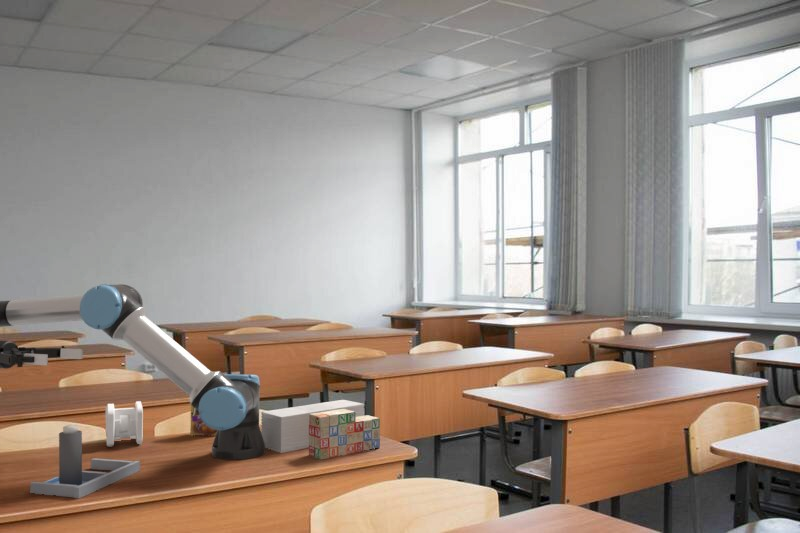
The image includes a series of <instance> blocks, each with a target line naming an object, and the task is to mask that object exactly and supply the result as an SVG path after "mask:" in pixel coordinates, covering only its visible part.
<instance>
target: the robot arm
mask: <svg viewBox="0 0 800 533" xmlns="http://www.w3.org/2000/svg"><path fill="white" fill-rule="evenodd" d="M79 321H83V322H84V323H85V325H87V326H88V327H90V328H92V329H95V330H98V331H99V330H101V331H102V332H104V333H105V334H106V335H107V336H109V337H110V339H112V340H114V341H124V342H125V343H126V344H127V345H128V346H130V347H131V348H132V349H133V350H134V351H136V352H137V353H138V354H139V355H140V356H141V357H143V358H144V359H145V360H146V361H147V362H149V364H151V365H152V366H153V367H154V368H155V369H157V370H158V371H159V372H161V373H162V374H163V375H164V376H165V377H166V378H168V379H169V380H170V381H171V382H172V383H174V384H175V385H176V386H177V387H178V388H180V390H182V391H183V392H185V393H186V394H187V395H188V396H189V404H190V406H191V405H192V406H193V407H194V408H195V409H197V410H198V411H199V415H200V418H201V419H202V421H203V422H204V423H205V424H206V425H207V426H208V427H210V428H212V429H215V430H217V433H216V436H214V440H213V442H212V445H211V455H212V457H214V458H217V459H220V460H221V459H222V460H246V459H253V458H258V457H259V456H263V455H264V454H265V453H266V448H265V443H264V440H263V437H262V434H261V428H260V427H261V426H260V388H261V383H260V377H259V376H258V375H257V374H233V373H232V374H231V373H230V374H224V373H223V372H222V371H220V370H217V371H216V370H215V371H212V370H211V369H209V368H208V367H207V366H206V365H205V364H203V363H202V362H201V361H200V360H198V358H196V357H195V356H194V355H192V354H191V352H189V351H188V350H187V349H185V348H184V347H183V346H182V345H180V344H179V343H178V342H177V341H175V339H174V338H172V336H170V335H168V334H167V333H166V332H165V331H164V330H163V329H161V328H160V327H159V326H158V325H157V324H156V323H155V322H153V321H152V320H151V319H150V318H148V316H147V315H146V308H145V307H144V303H143V298H142V296H141V294H140V292H139V291H138V290H137V289H136V288H135V287H133V286H131V285H128V284H123V283H122V284H120V283H119V284H107V283H104V284H100V285H95V286H93V287H91V288H89V289H88V290H87V291H86V292H85V293H84V294H75V295H74V294H73V295H62V296H61V295H60V296H59V295H58V296H47V297H38V298H36V297H35V298H25V299H24V298H23V299H13V300H0V328H2V327H3V328H5V327H14V326H25V325H27V326H28V325H39V324H51V323H52V324H53V323H55V324H56V323H67V322H69V323H70V322H79ZM83 357H84V349H83V348H67V347H65V345H61V347H26V346H20V347H18V345H17V344H16V343H15V342H14V341H13V340H0V369H2V370H4V369H7V370H8V369H10V368H13V367H14V366H15V365H16V364H17V366H16V367H17V368H23V366H24V365H27V366H28V365H30V366H32V365H33V366H48V363H49V362H48V361H49V359H55V358H56V359H57V358H58V359H59V358H60V359H67V360H69V359H71V360H83V359H84V358H83Z"/></svg>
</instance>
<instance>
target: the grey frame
mask: <svg viewBox="0 0 800 533" xmlns="http://www.w3.org/2000/svg"><path fill="white" fill-rule="evenodd" d="M90 469H91V470H82V484H81V485H79V486H78V485H70V484H59V475H58V476H56V477H52V478H50V479H48V480H45V481H35V480H34V481H32V482H30V483H29V484H30V488H29V490H30V492H29V493H30V494H31V493H35V494H34V495H42V494H44V495H43V496H53V495H56V496H55V497H65V498H66V497H68V498H74V499H81V498H83V497H86V496H87V495H90V494H92V493H94V492H96V490H97V491H98V490H100V489H103V488H106V487H107V486H110V485H111V484H114V483H116V482H118V481H121V480H122V479H125V478H126V477H129V476H132V475H133V474H136V473H139V472H140V471H141V461H140V460H135V461H134V460H120V459H109V458H91V459H90ZM92 470H93V471H92ZM94 470H102V471H94ZM103 470H104V472H103ZM106 471H109V472H106ZM109 484H110V485H109Z"/></svg>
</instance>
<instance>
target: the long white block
mask: <svg viewBox="0 0 800 533" xmlns="http://www.w3.org/2000/svg"><path fill="white" fill-rule="evenodd" d="M339 409H346V410H350V411H354V412H355V415H356V417H358V416H365V404H364V403H362V402H357V401H351V400H347V399H339V400H337V399H336V400H331V401H326V402H317V403H312V404H306V405H299V406H292V407H284V408H277V409H273V410H266V411H265V410H264V411H261V419H260V420H261V423H260V425H261V426H260V427H261V428H260V430H261V434H262V437H263V440H264V443H265V449H267V448H268V450H270V449H271V450H270V451H274V452H277V453H279V452H280V454H283V453H288V452H293V451H297V450H303V449H309V414H312V413H319V412H326V411H331V410H339Z"/></svg>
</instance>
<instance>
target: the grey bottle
mask: <svg viewBox="0 0 800 533" xmlns="http://www.w3.org/2000/svg"><path fill="white" fill-rule="evenodd" d="M82 438H83V432H82V431H81V430H79V427H78V424H71V425H70V424H69V425H64V426H62V431H61V432H59V433H58V448H59V449H58V450H59V451H58V456H59V457H58V466H59V467H58V470H59V471H58V472H59V473H58V476H59V484H70V485H78V486H79V485H81V484H82V471H83V439H82Z"/></svg>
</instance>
